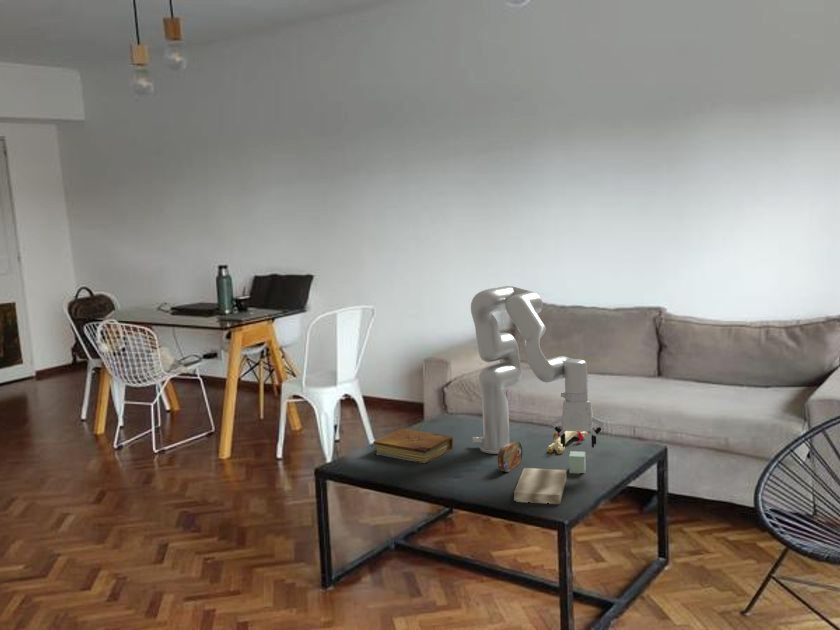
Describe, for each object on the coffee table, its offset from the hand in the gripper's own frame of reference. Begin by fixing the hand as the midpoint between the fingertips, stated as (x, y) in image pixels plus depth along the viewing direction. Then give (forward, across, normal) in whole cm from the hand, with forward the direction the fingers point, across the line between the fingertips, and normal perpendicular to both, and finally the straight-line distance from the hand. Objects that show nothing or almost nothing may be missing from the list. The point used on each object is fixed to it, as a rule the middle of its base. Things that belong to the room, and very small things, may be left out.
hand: (578, 446), depth 275 cm
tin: (+9, -24, 0) cm, 25 cm away
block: (+9, -1, 0) cm, 9 cm away
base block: (+9, -11, -19) cm, 23 cm away
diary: (+8, -62, +12) cm, 63 cm away
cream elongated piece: (+9, -6, +29) cm, 31 cm away
